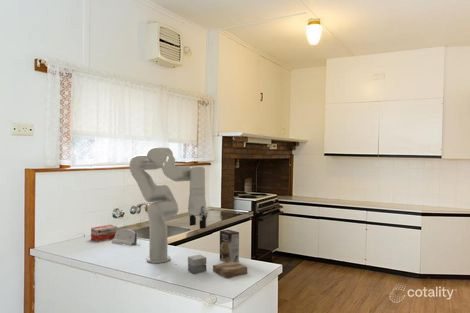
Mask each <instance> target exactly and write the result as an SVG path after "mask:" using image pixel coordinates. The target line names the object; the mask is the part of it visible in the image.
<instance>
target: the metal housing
mask: <svg viewBox="0 0 470 313" xmlns="http://www.w3.org/2000/svg"><path fill="white" fill-rule="evenodd" d="M187 271H188V272H189V273H191V274H193V275H197V274H201V273H206V272H207V256H204V255H202V254H196V255H192V256H191V255H190V256H187Z"/></svg>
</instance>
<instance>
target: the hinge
mask: <svg viewBox="0 0 470 313" xmlns="http://www.w3.org/2000/svg"><path fill="white" fill-rule="evenodd" d="M138 235H139V233H138V232H137V231H134V230H133V229H128V228H122V229H121V228H120V229H117V231H116V234H115V237H114V238H112V240H111V244H116V243H118V245H123V244H125V245H124V246H130V245H136V244H137V241H138Z"/></svg>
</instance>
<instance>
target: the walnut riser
mask: <svg viewBox="0 0 470 313" xmlns="http://www.w3.org/2000/svg"><path fill="white" fill-rule="evenodd" d="M212 272H213V273H214V274H216V275H219V276H221V277H223V278H225V279H231V278H234V277H239V276H244V275H247V274H248V266H246V265H242V264H240V263H239V262H237V263H236V262H234V261H231V262H227V263H226V262H223V263H218V264H213V265H212Z"/></svg>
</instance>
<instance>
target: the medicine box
mask: <svg viewBox="0 0 470 313" xmlns="http://www.w3.org/2000/svg"><path fill="white" fill-rule="evenodd" d="M117 230H118V226H117V225H114V224H107V225H102V226H101V225H100V226H95V227H91V229H90V239H91V240H92V241H95V242H99V241H106V240H111V239H112V240H113V239H114V237H115V234H116V231H117Z"/></svg>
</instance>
